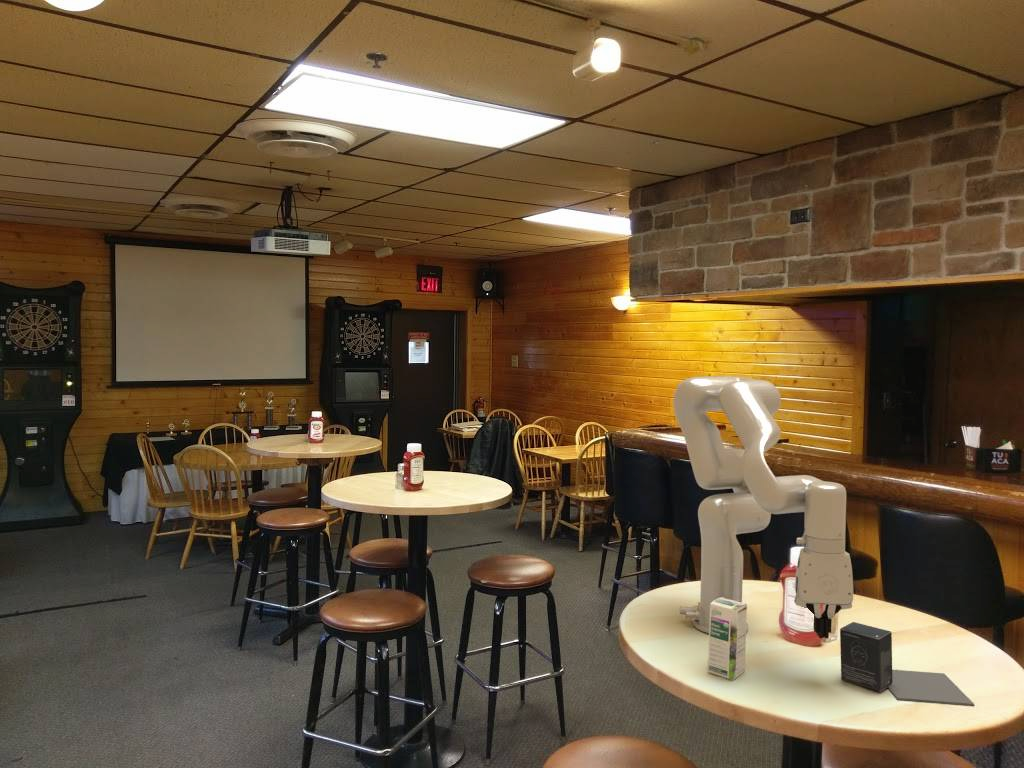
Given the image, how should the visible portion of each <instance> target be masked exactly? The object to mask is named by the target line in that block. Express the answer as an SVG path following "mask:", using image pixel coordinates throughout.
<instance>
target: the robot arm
mask: <svg viewBox="0 0 1024 768" xmlns="http://www.w3.org/2000/svg"><path fill="white" fill-rule="evenodd" d="M672 401H673V402H672V406H673V412H674V415H675V418H676V421H677V424H678V426H679V427H680V430H681V432H682V435H683V437H684V441H685V444H686V449H687V452H688V453H687V454H688V456H689V461H690V464H691V467H692V472H693V475H694V479H695V481H696V484H697V485H698V486H699V487H700V488H702V489H703V490H706V491H707V490H708V491H709V490H711V491H713V490H715V491H716V490H727V489H728V490H729V489H730V490H731V489H732V490H733V492H730V493H717V494H713V495H710V496H708V497H706V498H704V499H702V501H701V502H700V504H699V506H698V509H697V518H698V525H699V532H700V539H701V540H700V542H701V545H700V546H701V549H700V550H701V551H700V552H701V555H700V558H701V560H700V564H701V565H700V567H701V568H700V596H699V597H700V599H699V600H700V601H699V602H697V605H693V606H682V605H680V606H679V615H685V618H689V619H690V618H692V626H694V628H696V629H697V630H698V631H701V632H703V633H705V632H706V634H709V618H710V603H712V602H713V601H714V600H716V599H718V598H721V597H723V598H725V599H730V600H734V601H738V602H742V603H743V578H744V552H743V549H742V546H741V545H740V542H739V541H738V538H737V535H740V534H748V533H755V532H760V531H763V530H765V529H766V528H768V526H769V524H770V522H771V518H772V517H771V516H772V514H773V515H782V514H784V515H785V514H791V513H804V520H803V521H804V528H803V533H802V536H801V537H796V539H795V540H796V544H797V545H800V546H803V548H800V550H799V555H798V557H797V558H798V559H797V565H796V571H795V582H794V588H795V589H794V592H795V596H794V597H795V598H794V600H793V602H794V604H795V605H796V606H799V607H801V608H802V607H804V608H808V609H809V610H810V611H811V612H812V613H813V614H814V619H813V632H815V634H816V635H817V637H818V638H819V639H823V638H824V639H829V634H831V633H832V621H833V620H832V619H833V618H834V617H835V615H836V614H838V613H839V612H840V611H841V610H849V609H852V608H853V601H854V582H853V581H854V579H853V578H854V577H853V566H852V562H851V561H852V560H851V556H850V553H849V552H847V551H846V527H847V526H846V520H847V518H846V517H847V490H846V486H844V485H843V484H841V483H838V482H834V481H827V480H826V481H824V480H822V479H819V478H817V477H815V476H812V475H808V474H801V475H800V474H799V475H798V474H797V475H786V476H785V475H784V476H783V475H782V476H775V475H774V473H773V471H772V470H771V468H770V467H769V464H767V460H766V459H765V458H766V457H765V452H767V451H768V450H770V449H771V448H772V447H774V446H775V445H776V444H777V443H778V442H779V440H780V438H781V435H782V431H781V428H780V427H779V425H778V424H777V422H776V420H775V419H774V417H773V415H775V414H776V413H778V411H779V410H780V408H781V405H782V398H781V394H780V391H779V389H778V388H777V387H776V386H775V384H773V383H772V382H770V381H768V380H765V379H754V378H748V377H742V376H741V377H740V376H730V375H729V376H724V375H723V376H720V375H719V376H717V375H716V376H712V375H711V376H693V377H690V378H686V379H684V380H682V381H681V382H679V384H678V385H677V387H676V388H675V390H674V394H673V400H672ZM707 412H723V413H724V414H725V416H726V418H727V420H728V422H729V424H730V425H731V427H732V428H733V431H735V434H736V435H737V437H738V439H739V440H740V442H741V444H742V445H743V447H744V449H742V448H729V449H728V448H726V447H725V445H724V443H723V442H724V441H723V439H722V436H721V431H720V429H719V428H718V426H717V424H716V423H715V422H714V421H713V420H712V419H711V418H710V417H709V416H708V415H707ZM820 604H821V605H824V609H823V612H822V609H821V608H822V607H821V608H820ZM748 631H749V625H748V623H747V621H746V633H747V632H748Z"/></svg>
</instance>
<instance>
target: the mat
mask: <svg viewBox="0 0 1024 768" xmlns="http://www.w3.org/2000/svg"><path fill="white" fill-rule="evenodd" d="M887 689H888V690H889V692H890V693H891V694H892V695H893V697H894V698H895V699H896V700H897V701H906V702H918V703H919V702H920V703H933V704H943V705H944V704H945V705H957V706H968V705H969V707H975V703H974V702H973V701H972V700H971V699H970V698H969V697H968V696H967V695H966V694H965V693H964V692H963V691H962V690H961V689H960V688H959V686H958V685H956V684H955V682H953V681H952V679H950V677H948V676H947V675H946V673H942V672H930V671H918V670H917V671H915V670H905V669H904V670H903V669H892V684H891V685H889V686H888V687H887Z"/></svg>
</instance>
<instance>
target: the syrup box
mask: <svg viewBox="0 0 1024 768" xmlns="http://www.w3.org/2000/svg"><path fill="white" fill-rule="evenodd" d="M747 610H748V603H747V602H743V601H742V602H738V601H734V600H730V599H725V598H723V597H721V598H718V599H716V600H714V601H713V602H712V603H710V618H709V633H708V658H707V659H708V660H707V673H708V672H709V674H712V675H713V674H714V675H715V676H719V677H722V678H725V679H728V680H731V681H734V680H736V679H737V678H739V677H740V676H741V675H742V674H743V673H745V666H746V644H747V643H746V642H747V639H746V638H747V632H746V622H747V616H748V615H747V613H748V612H747Z"/></svg>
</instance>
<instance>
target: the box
mask: <svg viewBox="0 0 1024 768" xmlns="http://www.w3.org/2000/svg"><path fill="white" fill-rule="evenodd" d="M839 636H840V637H839V642H840V678H841V680H842V681H845V682H848V683H852V684H855V685H859V686H862V687H865V688H868V689H871V690H873V691H877V692H882V691H884V690H885V689H886V688H887V689H888V686H889V685H891V684H892V670H893V643H892V642H893V639H892V638H893V636H892V631H890V630H887V629H882V628H878V627H875V626H871V625H867V624H863V623H859V622H854V621H852V622H850V623H848V624H846V625H844V626H841V628H840V629H839Z"/></svg>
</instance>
